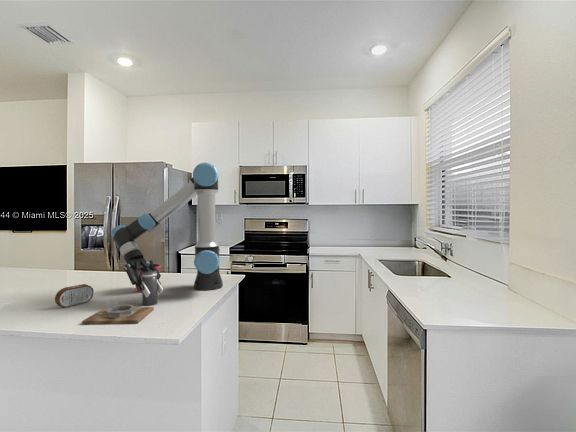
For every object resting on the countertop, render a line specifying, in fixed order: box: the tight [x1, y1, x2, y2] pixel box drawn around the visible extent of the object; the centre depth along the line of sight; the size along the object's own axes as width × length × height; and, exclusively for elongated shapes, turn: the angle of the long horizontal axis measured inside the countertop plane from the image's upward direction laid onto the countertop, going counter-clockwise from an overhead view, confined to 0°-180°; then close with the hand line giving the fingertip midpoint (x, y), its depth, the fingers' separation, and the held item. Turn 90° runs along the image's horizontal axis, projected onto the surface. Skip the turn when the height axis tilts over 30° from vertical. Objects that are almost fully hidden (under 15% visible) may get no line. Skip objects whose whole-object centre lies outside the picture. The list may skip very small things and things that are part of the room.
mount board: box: [81, 304, 155, 325], centre depth 126 cm, size 20×16×3 cm
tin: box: [54, 283, 95, 308], centre depth 141 cm, size 15×3×8 cm, turn 151°
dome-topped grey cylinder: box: [141, 271, 158, 306], centre depth 143 cm, size 6×6×14 cm
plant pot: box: [131, 263, 162, 293], centre depth 167 cm, size 14×14×13 cm
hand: (155, 293), depth 141 cm, fingers closed on dome-topped grey cylinder, 6 cm apart
